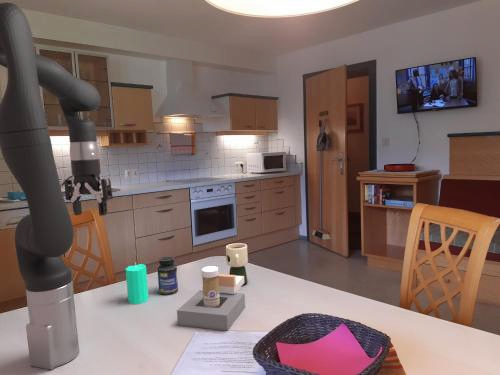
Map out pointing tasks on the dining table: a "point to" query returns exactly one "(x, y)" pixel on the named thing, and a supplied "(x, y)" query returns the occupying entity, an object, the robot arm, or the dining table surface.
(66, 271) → the robot arm
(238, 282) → the panel
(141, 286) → the candle
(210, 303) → the sprinkles bottle
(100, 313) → the dining table surface
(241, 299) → the socket block
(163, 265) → the pill bottle
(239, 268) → the character mug
